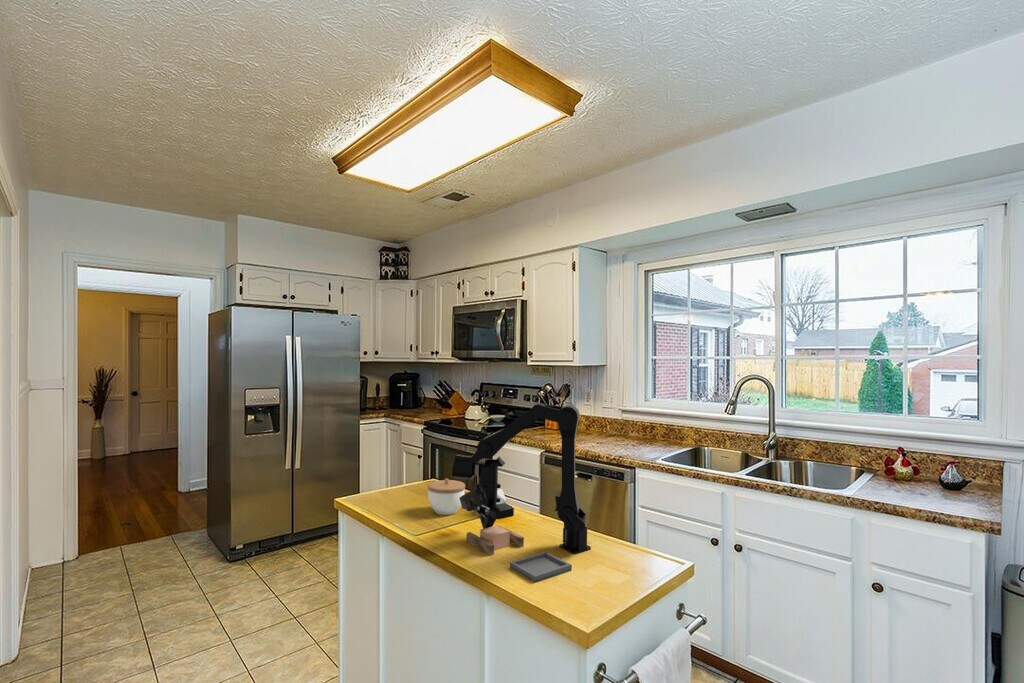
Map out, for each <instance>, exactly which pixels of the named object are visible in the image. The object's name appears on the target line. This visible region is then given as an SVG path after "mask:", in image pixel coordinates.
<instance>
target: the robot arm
mask: <svg viewBox="0 0 1024 683" xmlns="http://www.w3.org/2000/svg"><path fill="white" fill-rule="evenodd" d="M540 419H542V420H546V421H549V422H553V423H554V422H555V423H557V424H558V425H557V426H558V430H559V433H560V437H561V490H560V491H559V490H557V491H556V494H555V496H554V498H555V505H556V506H555V509H554V512H557V514H556V515H557V517H558V519H559V520H560V521H561V522H563V528H562V543H560V544H559V547H560V548H562V549H563V550H566V551H568V552H571V553H572V554H579V553H583V552H585V551H588V550H591V548H592V546H590V545H588V527H586V523H587V522H586V521H587V517H588V516H587V514H586V512H585V511H583V509H582V508H581V506H580V501H579V494H578V492H577V488H576V436H577V431H578V430H577V429H578V427H579V426H578V425H579V419H580V411H579V409H578V408H577V407H576V405H573V404H566V405H564V406H560V405H554V404H553V405H552V404H545V403H542V402H539V403H536V404H534V405H533V406H532V407H531V408H530V409H528V411H526V412H525V413H523V414H522V415H520V416H519V417H518V418H517V419H515V420H514V421H512V422H511V423H509V424H508V425H507V426H505V427H504V428H502V429H501V430H498V431H496V432H494V433H492V434H490V435H488V436H486V437H484V438H482V439H481V440H480V441H478V443H477V444H476V445H477V448H476V451H475V452H474V453H473V454H472V455H464V454H459V453H458V454H456V455H454V461H453V464H452V467H451V475H452V478H453V479H461V480H462V479H463V480H473V479H475V478H474V477H477V478H478V479H477V482H476V483H474V485H473V486H474V487H473V489H472V490H470V491H468V492H465V493H464V495H463V496H461V497H460V498H459V499H460V502H461V508H462V509H463V510H466V511H467V512H475V513H476V514H477V515H478V517H479V519H480V520H479V521H480V523H481V525H482V529H485V528H488V527H492V526H495V522H496V520H504V519H506V518H512V517H515V508H514V507H513V506H512V505H510V504H508V503H507V502H506V503H502V504H496V503H498V502H500V498H498V497H497V489H501V486H502V485H501V483H499V480H498V478H499V476H498V475H499V467H500V468H502V467H503V466H504V465H506V461H504V460H503V459H502V458H501V456H498V457H497V458H493V457H494V456H496V455H497V454H498V453H499V451H501V450H502V449H503V448H504V447H505V446H506V445H507V443H508V442H509V441H510V440H511V439H513V438H514V437H515V436H517V435H518V434H520V433H521V432H522V431H524V430H525V429H527V428H528V427H529V426H531V425H532V424H533V423H535V422H536V421H538V420H540ZM483 459H484V460H485V461H483Z"/></svg>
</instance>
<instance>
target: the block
mask: <svg viewBox="0 0 1024 683" xmlns="http://www.w3.org/2000/svg"><path fill="white" fill-rule="evenodd" d="M499 526H500V525H499ZM499 526H498V525H497V524H496V525H493V526H492V527H488V528H485V529H483V528H482V529H480V530H479V537H480V538H482V539H484V540H486V541H488V542H489V543H491V544H493V545H494V551H496V550H499V549H502V548H506V547H509V546H510V543H511V542H510V531H511V530H510V531H508V530H509V529H508V530H506V529H507V528H506V529H504V528H505V527H503V528H501V527H502V526H501V527H499Z"/></svg>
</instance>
